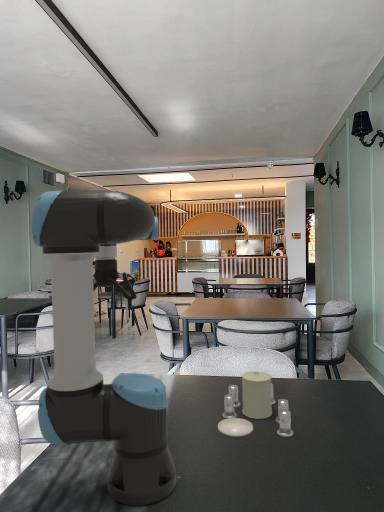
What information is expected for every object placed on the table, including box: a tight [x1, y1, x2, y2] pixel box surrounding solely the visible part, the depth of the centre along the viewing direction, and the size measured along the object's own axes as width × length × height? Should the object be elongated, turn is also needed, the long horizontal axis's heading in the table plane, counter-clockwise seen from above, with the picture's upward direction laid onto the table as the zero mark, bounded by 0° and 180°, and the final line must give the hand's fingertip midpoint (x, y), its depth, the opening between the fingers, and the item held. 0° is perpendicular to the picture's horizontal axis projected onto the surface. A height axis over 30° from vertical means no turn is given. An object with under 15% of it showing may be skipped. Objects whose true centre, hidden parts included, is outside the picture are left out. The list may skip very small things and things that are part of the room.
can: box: [241, 370, 273, 420], centre depth 118 cm, size 9×9×12 cm
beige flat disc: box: [217, 417, 254, 438], centre depth 109 cm, size 10×10×1 cm
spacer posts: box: [222, 382, 294, 438], centre depth 115 cm, size 25×19×6 cm
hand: (107, 320), depth 130 cm, fingers open, 13 cm apart
